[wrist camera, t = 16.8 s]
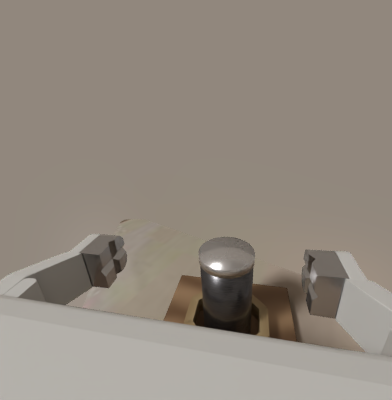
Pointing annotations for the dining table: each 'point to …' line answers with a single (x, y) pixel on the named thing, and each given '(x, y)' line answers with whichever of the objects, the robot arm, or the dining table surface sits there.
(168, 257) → the dining table surface
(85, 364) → the robot arm
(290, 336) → the mount
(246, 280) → the canister
